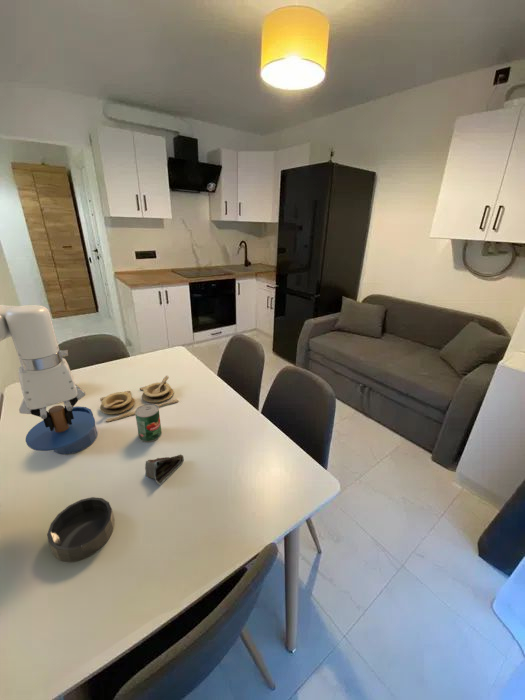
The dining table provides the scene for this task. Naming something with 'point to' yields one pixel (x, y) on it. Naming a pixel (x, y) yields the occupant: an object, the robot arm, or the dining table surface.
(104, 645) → the dining table surface
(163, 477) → the chocolate cake
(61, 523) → the bowl
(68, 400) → the robot arm
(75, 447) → the pot
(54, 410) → the pot lid
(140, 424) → the canned tomato
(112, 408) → the tableware set
